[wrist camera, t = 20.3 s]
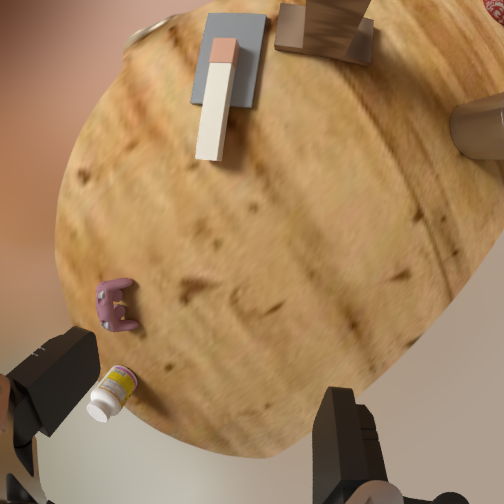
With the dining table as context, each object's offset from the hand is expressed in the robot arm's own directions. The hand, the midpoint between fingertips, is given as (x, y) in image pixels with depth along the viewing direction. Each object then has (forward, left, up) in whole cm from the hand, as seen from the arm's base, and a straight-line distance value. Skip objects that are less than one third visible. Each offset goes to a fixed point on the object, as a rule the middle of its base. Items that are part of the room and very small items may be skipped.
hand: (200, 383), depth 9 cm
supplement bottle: (+25, +38, -36) cm, 58 cm away
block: (+10, -16, -35) cm, 40 cm away
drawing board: (+10, -23, -36) cm, 44 cm away
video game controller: (+24, +19, -36) cm, 48 cm away
